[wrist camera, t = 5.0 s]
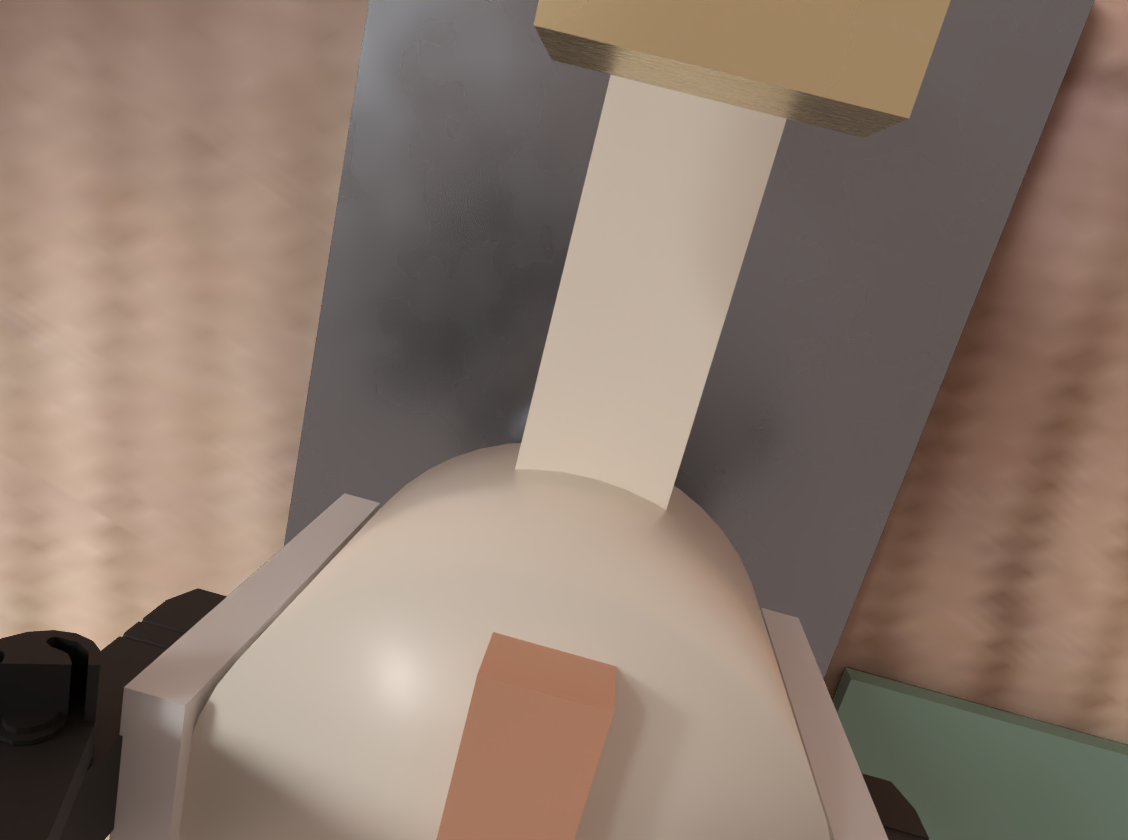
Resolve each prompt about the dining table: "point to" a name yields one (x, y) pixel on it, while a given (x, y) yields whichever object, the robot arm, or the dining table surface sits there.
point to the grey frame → (769, 269)
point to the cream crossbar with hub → (546, 574)
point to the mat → (984, 765)
